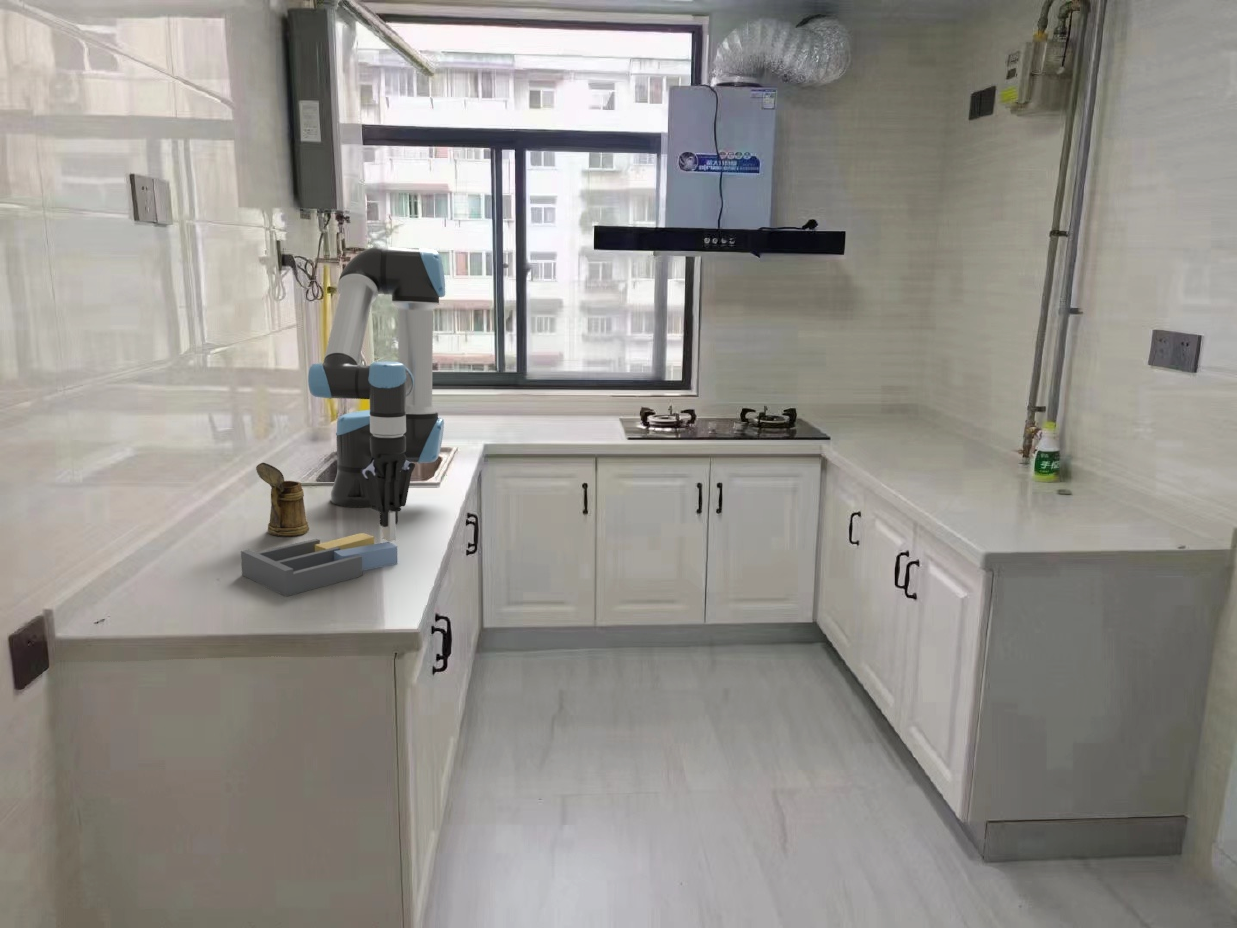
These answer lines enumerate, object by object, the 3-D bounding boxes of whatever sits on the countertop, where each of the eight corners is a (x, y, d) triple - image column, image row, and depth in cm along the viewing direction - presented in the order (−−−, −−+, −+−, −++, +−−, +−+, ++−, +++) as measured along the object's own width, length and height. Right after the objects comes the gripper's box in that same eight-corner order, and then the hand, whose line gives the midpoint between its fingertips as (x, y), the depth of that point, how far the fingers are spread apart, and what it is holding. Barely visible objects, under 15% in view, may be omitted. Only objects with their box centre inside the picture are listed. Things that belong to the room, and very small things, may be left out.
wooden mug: (247, 540, 199) (243, 460, 195) (282, 524, 212) (279, 449, 208) (283, 544, 197) (280, 464, 193) (316, 527, 210) (314, 452, 206)
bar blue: (388, 559, 191) (388, 541, 190) (397, 564, 188) (397, 546, 187) (334, 569, 184) (333, 551, 183) (342, 575, 181) (342, 556, 180)
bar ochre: (362, 550, 196) (362, 532, 195) (374, 554, 194) (374, 536, 193) (315, 563, 187) (314, 544, 186) (327, 567, 185) (326, 549, 184)
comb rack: (316, 556, 190) (316, 534, 189) (362, 575, 180) (361, 551, 179) (242, 575, 177) (240, 550, 176) (286, 596, 168) (285, 570, 166)
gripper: (401, 428, 201) (402, 530, 206) (351, 435, 191) (353, 541, 196) (423, 433, 196) (423, 537, 201) (373, 440, 186) (374, 549, 191)
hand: (388, 539), depth 198 cm, fingers closed
